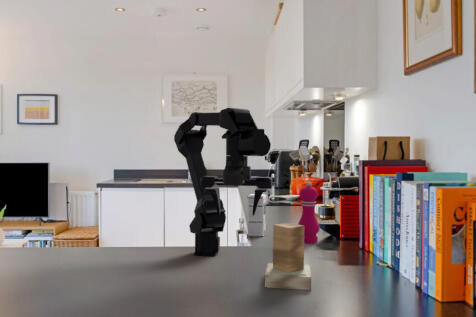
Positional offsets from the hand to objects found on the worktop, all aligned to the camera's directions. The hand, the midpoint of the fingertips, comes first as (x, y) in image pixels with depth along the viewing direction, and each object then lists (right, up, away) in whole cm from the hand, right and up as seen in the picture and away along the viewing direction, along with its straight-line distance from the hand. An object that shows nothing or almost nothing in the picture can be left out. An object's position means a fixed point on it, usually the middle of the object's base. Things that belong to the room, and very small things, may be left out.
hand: (236, 214), depth 111 cm
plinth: (+12, -13, -15) cm, 23 cm away
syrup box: (+7, -13, +40) cm, 42 cm away
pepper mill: (+24, -13, +29) cm, 40 cm away
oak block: (+12, -10, -15) cm, 22 cm away
